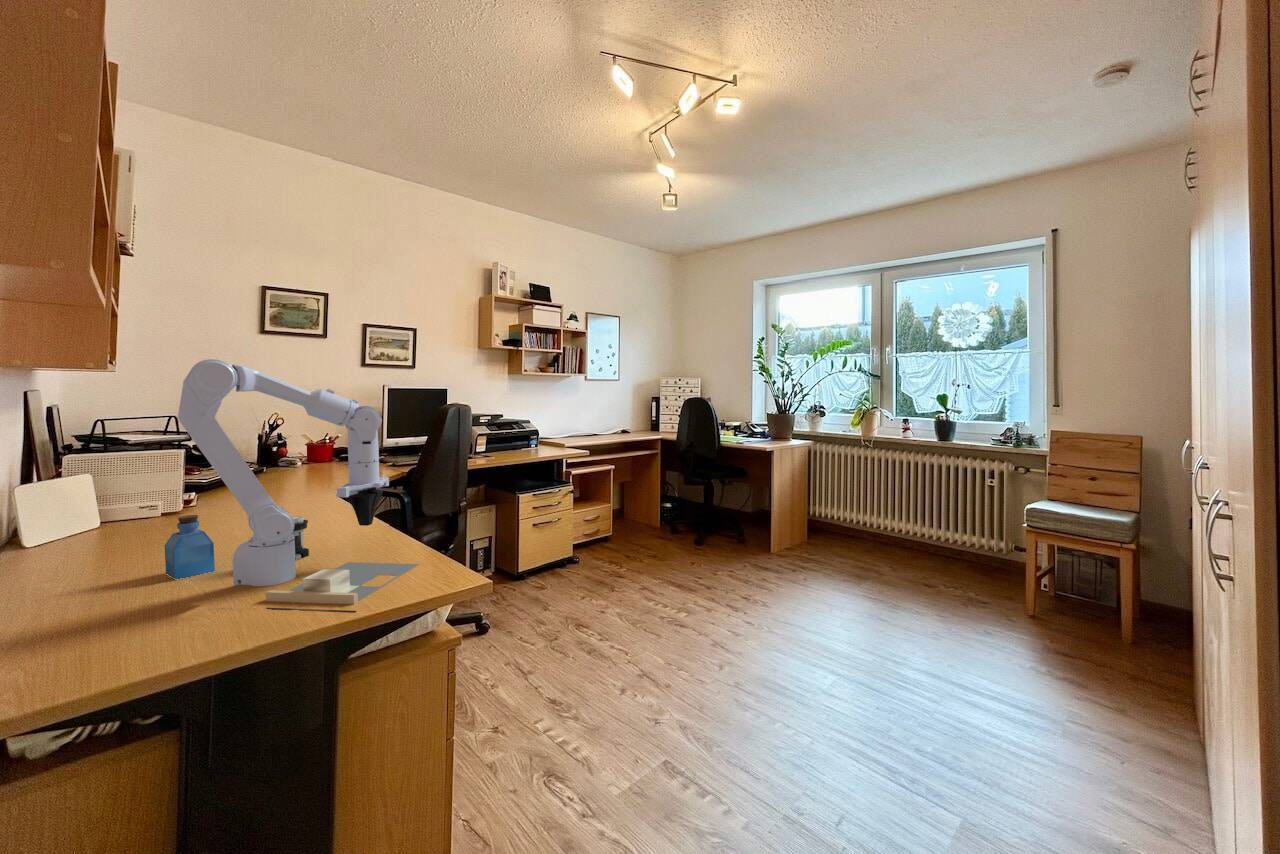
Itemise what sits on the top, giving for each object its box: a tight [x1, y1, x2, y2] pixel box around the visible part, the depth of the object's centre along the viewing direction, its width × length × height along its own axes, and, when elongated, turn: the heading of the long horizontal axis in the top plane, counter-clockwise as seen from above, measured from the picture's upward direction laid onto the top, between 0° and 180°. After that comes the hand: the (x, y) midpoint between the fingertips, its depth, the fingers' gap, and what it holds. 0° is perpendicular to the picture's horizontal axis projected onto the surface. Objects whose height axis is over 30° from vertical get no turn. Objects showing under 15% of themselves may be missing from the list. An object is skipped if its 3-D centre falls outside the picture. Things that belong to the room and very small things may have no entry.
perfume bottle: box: [164, 514, 216, 580], centre depth 104 cm, size 6×6×12 cm
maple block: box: [302, 568, 350, 593], centre depth 89 cm, size 5×5×4 cm
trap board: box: [265, 561, 420, 614], centre depth 95 cm, size 16×21×3 cm
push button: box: [292, 515, 310, 562], centre depth 110 cm, size 7×5×10 cm
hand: (365, 524), depth 107 cm, fingers closed
